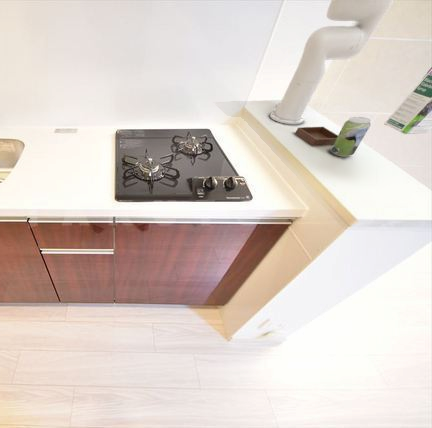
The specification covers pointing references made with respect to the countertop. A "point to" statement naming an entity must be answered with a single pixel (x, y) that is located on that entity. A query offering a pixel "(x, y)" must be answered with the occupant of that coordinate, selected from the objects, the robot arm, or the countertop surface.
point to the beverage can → (350, 136)
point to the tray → (316, 135)
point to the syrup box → (414, 110)
